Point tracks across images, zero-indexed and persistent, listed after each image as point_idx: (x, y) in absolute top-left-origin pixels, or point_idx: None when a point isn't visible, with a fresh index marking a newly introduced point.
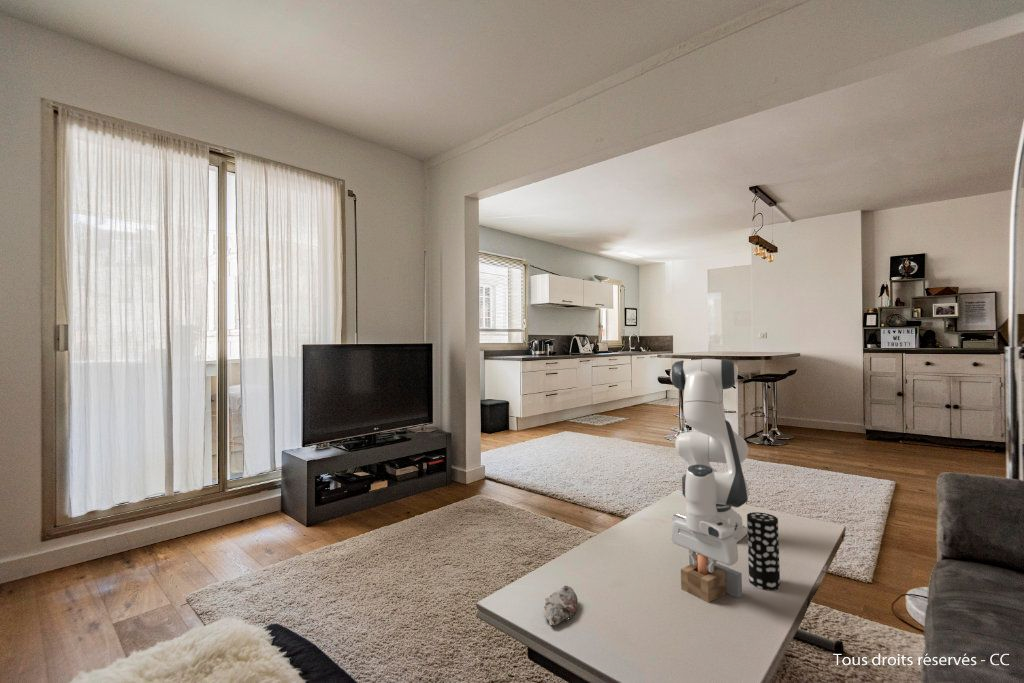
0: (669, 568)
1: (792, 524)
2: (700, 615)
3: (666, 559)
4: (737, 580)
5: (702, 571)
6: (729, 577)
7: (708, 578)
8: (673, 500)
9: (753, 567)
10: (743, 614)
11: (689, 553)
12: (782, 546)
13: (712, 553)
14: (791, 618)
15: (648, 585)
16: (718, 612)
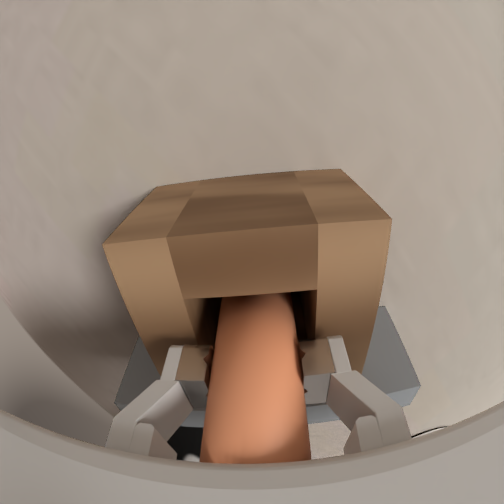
0: (466, 279)
1: None
2: (92, 63)
3: (488, 314)
4: (124, 381)
5: (233, 323)
6: None
7: (136, 282)
8: None
9: (183, 454)
10: (48, 245)
11: (393, 403)
12: None
13: (60, 491)
14: (30, 332)
15: (456, 63)
16: (78, 164)
